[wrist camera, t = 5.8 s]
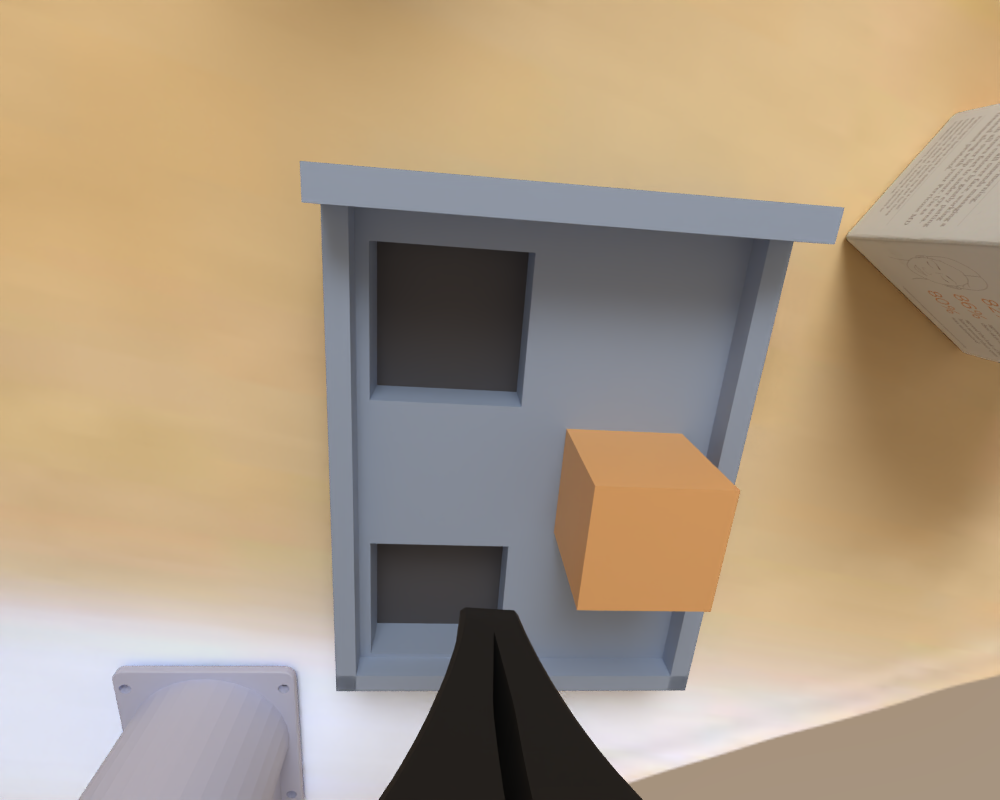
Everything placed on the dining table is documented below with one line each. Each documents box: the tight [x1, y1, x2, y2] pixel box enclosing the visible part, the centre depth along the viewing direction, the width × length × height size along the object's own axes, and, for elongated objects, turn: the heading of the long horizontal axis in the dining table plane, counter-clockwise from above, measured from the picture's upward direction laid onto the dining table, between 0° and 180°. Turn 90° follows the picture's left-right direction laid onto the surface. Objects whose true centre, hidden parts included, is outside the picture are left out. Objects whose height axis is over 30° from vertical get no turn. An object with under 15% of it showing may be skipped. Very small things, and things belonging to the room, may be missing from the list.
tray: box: [300, 161, 844, 691], centre depth 20 cm, size 20×15×5 cm
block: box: [554, 429, 740, 612], centre depth 19 cm, size 4×4×4 cm
